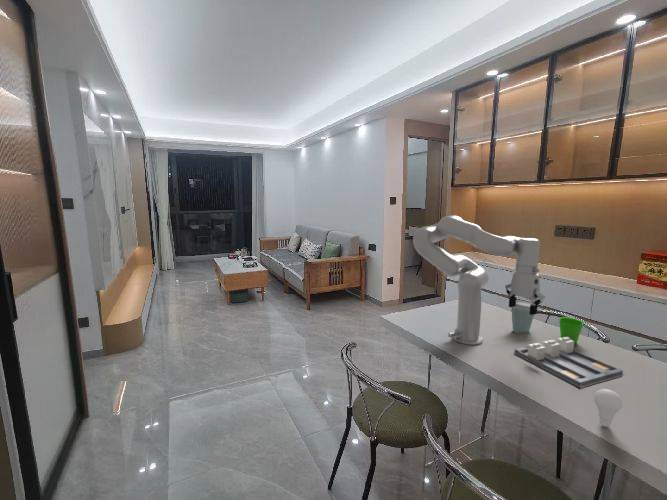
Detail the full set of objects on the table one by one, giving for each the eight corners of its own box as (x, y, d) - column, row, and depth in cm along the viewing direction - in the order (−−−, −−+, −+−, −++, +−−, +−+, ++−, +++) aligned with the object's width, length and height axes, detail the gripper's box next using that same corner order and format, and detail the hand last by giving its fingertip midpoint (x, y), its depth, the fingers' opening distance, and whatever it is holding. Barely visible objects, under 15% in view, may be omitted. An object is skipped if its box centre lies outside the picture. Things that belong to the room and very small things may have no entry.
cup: (585, 350, 141) (588, 325, 139) (561, 348, 143) (564, 324, 141) (574, 341, 150) (577, 317, 148) (552, 339, 151) (554, 316, 150)
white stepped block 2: (551, 357, 131) (552, 343, 130) (542, 352, 135) (543, 339, 134) (558, 355, 133) (560, 342, 132) (549, 351, 136) (550, 338, 135)
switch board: (579, 389, 113) (580, 382, 112) (514, 355, 137) (514, 349, 136) (621, 377, 120) (622, 370, 120) (553, 346, 144) (553, 341, 144)
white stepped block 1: (536, 360, 129) (537, 347, 128) (527, 356, 132) (528, 342, 131) (544, 358, 130) (545, 345, 129) (534, 354, 134) (536, 341, 133)
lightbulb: (585, 419, 98) (590, 385, 96) (604, 418, 98) (609, 384, 96) (603, 434, 92) (609, 397, 90) (624, 433, 92) (630, 396, 90)
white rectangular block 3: (565, 353, 134) (567, 340, 133) (556, 349, 138) (557, 336, 137) (572, 352, 135) (574, 339, 134) (563, 348, 139) (564, 335, 138)
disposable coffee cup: (520, 327, 166) (522, 297, 163) (539, 335, 156) (542, 304, 153) (503, 329, 163) (505, 300, 160) (521, 338, 152) (524, 307, 150)
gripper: (553, 273, 126) (548, 316, 129) (514, 264, 142) (511, 302, 145) (539, 274, 124) (534, 318, 127) (501, 265, 140) (497, 304, 143)
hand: (522, 310), depth 136 cm, fingers open, 9 cm apart
